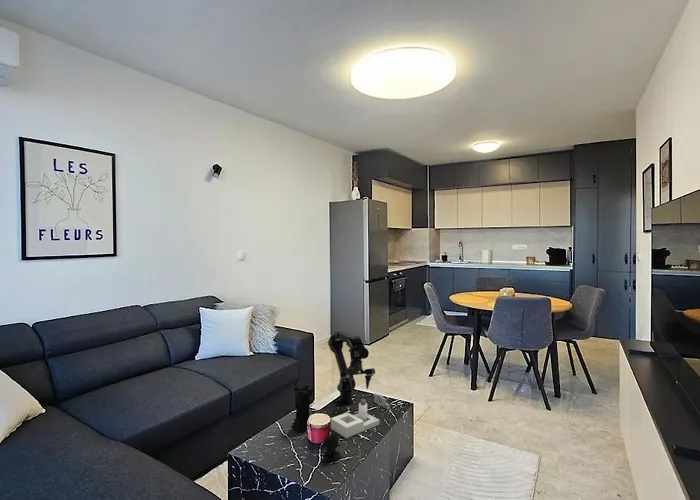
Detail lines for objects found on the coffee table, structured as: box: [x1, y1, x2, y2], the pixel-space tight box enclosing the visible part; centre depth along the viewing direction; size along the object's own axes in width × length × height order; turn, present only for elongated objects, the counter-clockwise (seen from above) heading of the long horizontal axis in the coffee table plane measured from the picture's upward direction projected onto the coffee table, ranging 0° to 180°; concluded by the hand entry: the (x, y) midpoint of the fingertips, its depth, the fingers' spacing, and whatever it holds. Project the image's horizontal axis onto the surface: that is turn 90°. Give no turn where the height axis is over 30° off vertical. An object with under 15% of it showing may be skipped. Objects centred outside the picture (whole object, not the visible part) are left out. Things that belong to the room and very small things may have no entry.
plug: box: [358, 398, 368, 422], centre depth 195 cm, size 4×4×12 cm
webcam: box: [322, 432, 342, 463], centre depth 164 cm, size 8×8×10 cm
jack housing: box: [330, 412, 381, 439], centre depth 192 cm, size 12×22×5 cm, turn 131°
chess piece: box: [291, 384, 314, 435], centre depth 188 cm, size 8×8×20 cm
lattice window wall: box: [373, 392, 391, 410], centre depth 217 cm, size 12×2×6 cm, turn 37°
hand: (359, 389), depth 207 cm, fingers open, 9 cm apart
